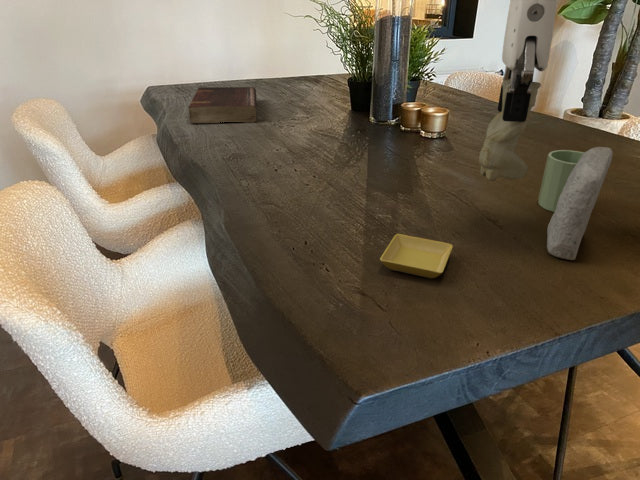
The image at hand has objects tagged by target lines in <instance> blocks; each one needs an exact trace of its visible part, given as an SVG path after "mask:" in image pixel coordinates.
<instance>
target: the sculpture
mask: <svg viewBox="0 0 640 480" xmlns="http://www.w3.org/2000/svg"><path fill="white" fill-rule="evenodd" d="M510 81H511V79H508V80H505V81H503V80H502V82H501V85H502V86H503V96H502V111H501V112H498V113H497V114H496V115H495V116H494V117H493V118H492V120H490V122H489V123H488V124H487V127H486V130H485V139H484V141H483V144H482V146H481V149H480V151H479V154H478V155H479V156H478V159H477V160H478V163H479V165H480V170H479V173H480V175H481V176H483V177H485V178H486V179H487V180H489V181H491V182H494V181H497V178H502V179H503V178H504V179H507V180H519V179H524V178H525V177H526V176H527V174H528V164H527V163H526V161H524V160H523V159H522V158H521V157H520V156H518V155H517V154H516V152H515V149H516V146H517V144H518V142H519V138H520V136H521V135H522V133H523V132H524V131H525V130H526V128H527V127H528V121H527V120H526V121H525V122H512V121H504V120H503V119H502V117H503V111H504V105H505V99H506V93H507V92H509V89H510ZM541 86H542V83H541V82H538V81H533V83H532V90H531V97H530V102H529V108H528V113H527V116H529V115H530V112H531V110H532V109H533V108H534V107H535V106H536V101H537V95H538V92H539V89H540V88H541Z"/></svg>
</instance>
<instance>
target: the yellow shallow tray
mask: <svg viewBox="0 0 640 480" xmlns="http://www.w3.org/2000/svg"><path fill="white" fill-rule="evenodd" d="M453 248H454V245H453V244H451V243H449V242H443V241H438V240H433V239H428V238H422V237H417V236H411V235H406V234H403V233H402V234H401V233H396V234H395V235H393V238H392V239H391V240H390V242H389V244H388V245H387V247H386V248H385V250H384V251H383V253H382V255H381V256H380V258H379V260H380V262H381V263H382V264H383V265H384V266H385V267H387V268H388V269H389V270H391V271H396V272H401V273H405V274H409V275H415V276H419V277H423V278H428V279H435V278H437V277H439V276H441V275H442V274H443V273H444V270H445V268H446V265H447V263H448V260H449V258H450V255H451V254H452V253H451V252H452V251H453Z"/></svg>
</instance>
